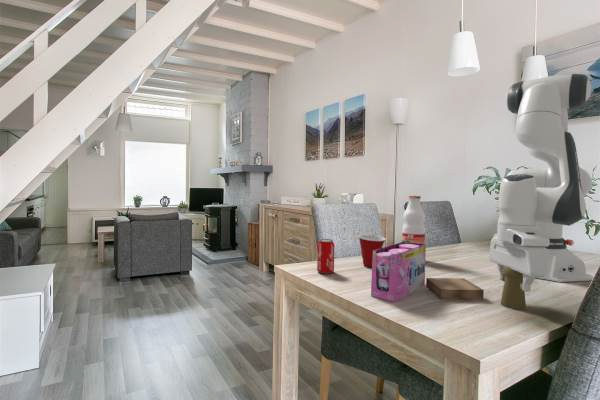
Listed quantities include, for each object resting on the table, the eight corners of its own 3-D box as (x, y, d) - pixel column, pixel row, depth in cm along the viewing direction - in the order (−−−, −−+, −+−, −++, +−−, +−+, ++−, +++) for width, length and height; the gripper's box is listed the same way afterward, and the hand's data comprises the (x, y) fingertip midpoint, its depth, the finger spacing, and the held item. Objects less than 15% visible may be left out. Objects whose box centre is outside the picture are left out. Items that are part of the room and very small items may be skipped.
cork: (531, 308, 92) (533, 267, 92) (514, 310, 90) (515, 268, 90) (512, 301, 98) (513, 262, 97) (495, 303, 96) (496, 263, 96)
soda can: (331, 275, 124) (332, 242, 123) (314, 273, 126) (315, 241, 125) (335, 271, 130) (336, 239, 129) (319, 269, 132) (320, 238, 131)
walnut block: (463, 287, 110) (464, 278, 110) (483, 300, 98) (483, 289, 98) (426, 287, 110) (426, 277, 110) (440, 299, 98) (441, 289, 98)
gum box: (393, 304, 95) (394, 254, 94) (367, 297, 100) (368, 251, 99) (425, 285, 113) (426, 243, 113) (402, 280, 118) (403, 241, 118)
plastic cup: (382, 270, 131) (382, 239, 131) (354, 267, 136) (354, 237, 135) (387, 264, 141) (388, 235, 140) (361, 262, 146) (362, 233, 145)
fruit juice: (427, 260, 150) (429, 195, 149) (419, 264, 143) (421, 196, 141) (406, 257, 156) (408, 195, 155) (398, 260, 149) (399, 195, 147)
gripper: (484, 229, 104) (482, 275, 104) (528, 240, 83) (526, 297, 84) (505, 230, 103) (503, 275, 104) (554, 240, 83) (552, 297, 84)
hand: (514, 285), depth 94 cm, fingers open, 8 cm apart
